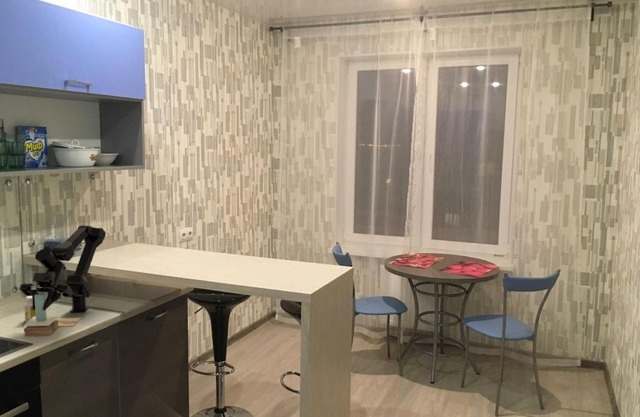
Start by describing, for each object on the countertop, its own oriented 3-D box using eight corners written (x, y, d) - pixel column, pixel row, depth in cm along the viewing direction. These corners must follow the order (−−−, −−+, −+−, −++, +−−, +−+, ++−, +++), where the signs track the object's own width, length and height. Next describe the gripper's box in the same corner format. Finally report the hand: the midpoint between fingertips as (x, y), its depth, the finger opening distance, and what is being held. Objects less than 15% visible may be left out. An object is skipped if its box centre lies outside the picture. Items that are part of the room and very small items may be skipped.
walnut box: (34, 328, 211) (33, 320, 211) (58, 327, 212) (58, 320, 212) (24, 336, 202) (23, 328, 202) (50, 335, 203) (49, 328, 203)
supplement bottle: (42, 317, 224) (41, 294, 222) (36, 321, 218) (34, 298, 217) (29, 317, 223) (28, 294, 222) (22, 321, 218) (21, 298, 217)
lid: (34, 318, 210) (32, 291, 209) (57, 317, 212) (55, 291, 210) (24, 326, 202) (23, 298, 201) (49, 325, 203) (47, 297, 202)
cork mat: (55, 319, 222) (55, 318, 222) (81, 318, 223) (81, 317, 223) (46, 327, 212) (46, 326, 212) (73, 326, 213) (73, 325, 213)
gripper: (20, 263, 208) (4, 299, 199) (67, 264, 207) (53, 300, 198) (33, 277, 217) (18, 312, 208) (78, 278, 216) (65, 314, 207)
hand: (38, 309), depth 205 cm, fingers closed on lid, 4 cm apart
